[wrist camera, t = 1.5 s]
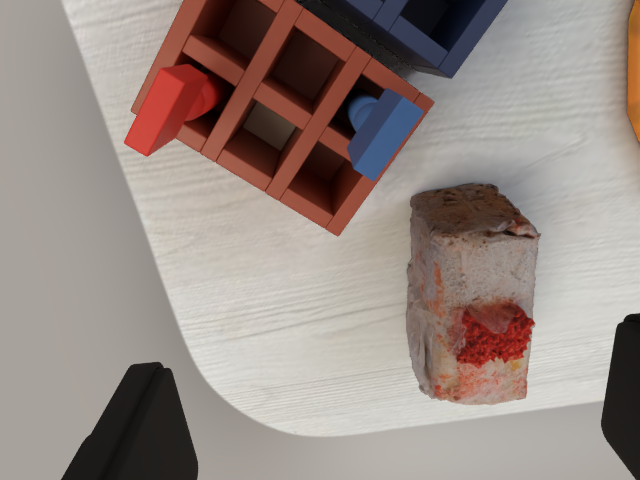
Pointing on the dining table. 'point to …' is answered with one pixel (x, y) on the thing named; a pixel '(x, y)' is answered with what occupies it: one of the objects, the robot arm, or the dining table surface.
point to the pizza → (634, 68)
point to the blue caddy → (423, 28)
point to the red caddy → (280, 101)
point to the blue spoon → (377, 128)
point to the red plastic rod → (174, 105)
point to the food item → (470, 295)
